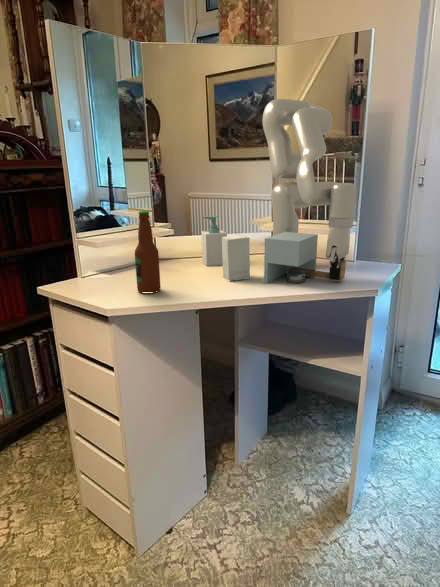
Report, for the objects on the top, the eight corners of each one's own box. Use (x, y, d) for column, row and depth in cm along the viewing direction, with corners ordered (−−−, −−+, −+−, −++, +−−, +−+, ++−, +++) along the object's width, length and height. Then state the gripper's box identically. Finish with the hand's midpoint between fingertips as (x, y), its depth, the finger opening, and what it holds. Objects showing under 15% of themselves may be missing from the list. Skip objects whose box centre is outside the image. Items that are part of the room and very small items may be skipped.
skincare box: (243, 275, 146) (243, 234, 142) (250, 279, 141) (250, 236, 137) (221, 277, 144) (221, 235, 139) (228, 282, 138) (227, 238, 134)
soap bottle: (201, 261, 169) (200, 215, 163) (222, 260, 171) (221, 214, 165) (206, 266, 161) (204, 217, 155) (227, 264, 163) (227, 216, 157)
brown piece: (287, 273, 143) (287, 256, 141) (291, 271, 146) (292, 254, 144) (340, 280, 133) (342, 263, 131) (344, 278, 136) (345, 260, 134)
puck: (284, 282, 137) (284, 274, 136) (291, 278, 142) (291, 270, 141) (300, 285, 134) (301, 276, 133) (307, 281, 138) (308, 272, 137)
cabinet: (264, 282, 136) (264, 238, 132) (284, 272, 149) (285, 231, 145) (297, 287, 130) (299, 241, 126) (315, 276, 143) (317, 234, 138)
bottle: (147, 286, 134) (142, 209, 127) (165, 289, 130) (160, 210, 123) (132, 292, 128) (126, 212, 121) (150, 295, 124) (145, 213, 117)
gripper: (337, 219, 139) (333, 271, 144) (320, 225, 125) (316, 282, 131) (359, 220, 135) (355, 273, 140) (344, 226, 122) (339, 285, 127)
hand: (336, 277), depth 136 cm, fingers closed on brown piece, 4 cm apart
